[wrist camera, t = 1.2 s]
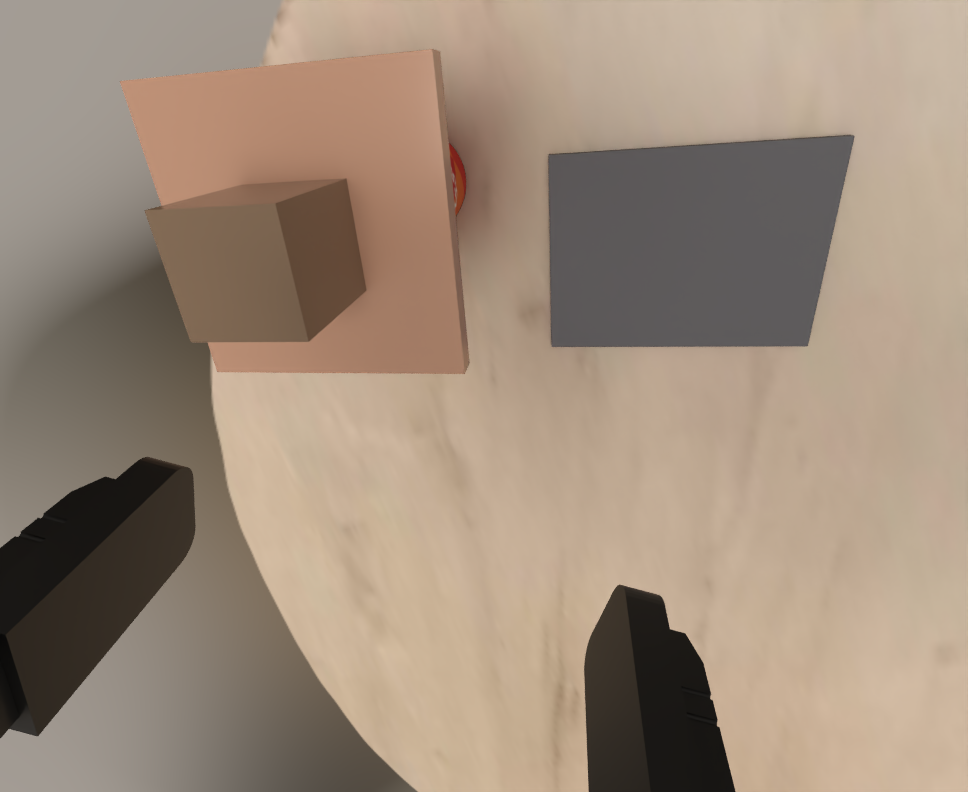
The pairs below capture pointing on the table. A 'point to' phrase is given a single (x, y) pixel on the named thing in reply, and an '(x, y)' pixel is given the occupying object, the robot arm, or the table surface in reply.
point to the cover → (309, 213)
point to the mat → (692, 242)
